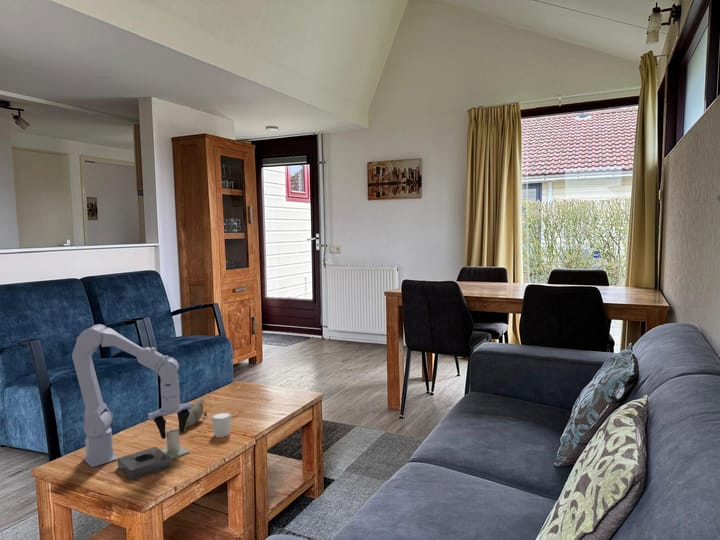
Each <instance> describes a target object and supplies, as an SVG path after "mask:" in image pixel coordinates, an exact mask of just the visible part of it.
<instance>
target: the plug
mask: <svg viewBox="0 0 720 540" xmlns="http://www.w3.org/2000/svg"><path fill="white" fill-rule="evenodd" d="M165 433H166V438H165V439H166V448H167V453H170V454H172V453H177V452H179V451H180V446H181V444H180V443H181V441H180V432H179V428H177V427H174V428H173V427H172V428H169V429H167V430H165Z"/></svg>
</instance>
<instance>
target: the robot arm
mask: <svg viewBox="0 0 720 540" xmlns="http://www.w3.org/2000/svg"><path fill="white" fill-rule="evenodd" d="M99 346H101V348H102V347H103V348H105V347H115V348H117V349H120V350H122V351H124V352H125V353H128V354H129V355H132V356H134V357H136V359H137V363H139V364H140V365H142V366H144V367H146V368H148V369H150V370H152V371H154V372H156V373H157V374H158V376H159V379H160V398H161V408H159V409H157V410H154V411H151V412H148V413H147V418H148V420H149V421H153V422H154V424H155V425H156V427H157V429H158V431H159V434H160V438H161V439H162V440H165V439H167V438H166V422H167V420H166V419H165V418H164V417H166V416H170V415H173V414H177V419H178V420H177V421H178V429H179V434H180V433H181V434H184V433H185V430H186V428H185V424H186V421H187V419H188V417H189V415H190V412H189V411H188V410H189V409H190V410H191V409H193V405H194V403H193V402H191V401H189V402H185V403H181V398H180V382H179V373H178V371H179V368H180V363H179V361H178V360H177V359H175V357H170V356H169V355H167V354H166V355H164V354H162V353H160V352H158V351H157V349H156V347H153V346H152V347H150V346H146V347H141V346H140V345H138V344H137V343H135V342H133V341H132V340H130V339H128V338H127V337H125V336H124V335H122V334H120V333H118V332H117V331H116V330H115V329H113V328H111V327H107V326H106V325H104V324H101V323H98V324H94V325H92V326H91V327H89V328H87V329H84V330H83V331H81V333H80V334H79V335H78V336H77V337H76V342H75V345H74V347H73V351H72V354H71V358H72V362H73V365H74V369H75V373H76V377H77V381H78V385H79V388H80V393H81V395H82V399H83V403H84V407H85V409H84V414H83V415H84V416H83V419H84V425H83V432H84V434H86V437H85V439H84V443H85V444H84V445H85V456H84V457H82V459H83V460H84V461H85V462H86V464H88V465H89V467H91V468H95V467H98V466H101V465H103V464H104V465H105V464H107V463H111V462H113V461H118V458H119V457H117V456H116V455H115V454H114V445H113V444H114V443H113V432H112V431H113V430H112V427H111V424H112V422H113V421H114V420H113V419H114V416H113V413H112V412H111V410H110V409H109V408H108V405H107V403H106V402H104V400H103V397H102V392H101V389H100V384H99V381H98V377H97V373H96V370H95V365H94V361H93V358H92V356H93V354H94V353H95V352H96V350H97V349H98V348H99ZM184 429H185V430H184Z"/></svg>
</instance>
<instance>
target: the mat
mask: <svg viewBox="0 0 720 540" xmlns="http://www.w3.org/2000/svg"><path fill="white" fill-rule="evenodd" d="M159 449H160V450H161V451H163V452H164V453H165V454H167V455H168V456H170V457H171V460H172V459H176V458H179V457H181V456H184V455H187V454H190V453H191V452H190V451H189V450H188V449H186V447H183V446H182V445H180V451H179V452H177V453H172V454H170V453H167V447H164V448H162V449H161V448H159Z"/></svg>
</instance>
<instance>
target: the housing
mask: <svg viewBox="0 0 720 540" xmlns="http://www.w3.org/2000/svg"><path fill="white" fill-rule="evenodd" d="M160 449H161V448H159V447H157V446H153V447H150V448H147V449H144V450H143V449H142V450H140V451H137V452H134V453H131V454H127V455H124V456H120V457H117V458H118V459H117V468H118V470H120V471H121V472H122V473H123V474H124V475H126V477H128V478H129V479H130V480H131V481H133V480H136V479H139V478H142V477H146V476H149V475H151V474H154V473H157V472H160V471H163V470H166V469H169V468H172V459H171V457H170V456H168V455H167V454H165V453H164V452H163V451H161V450H160Z"/></svg>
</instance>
